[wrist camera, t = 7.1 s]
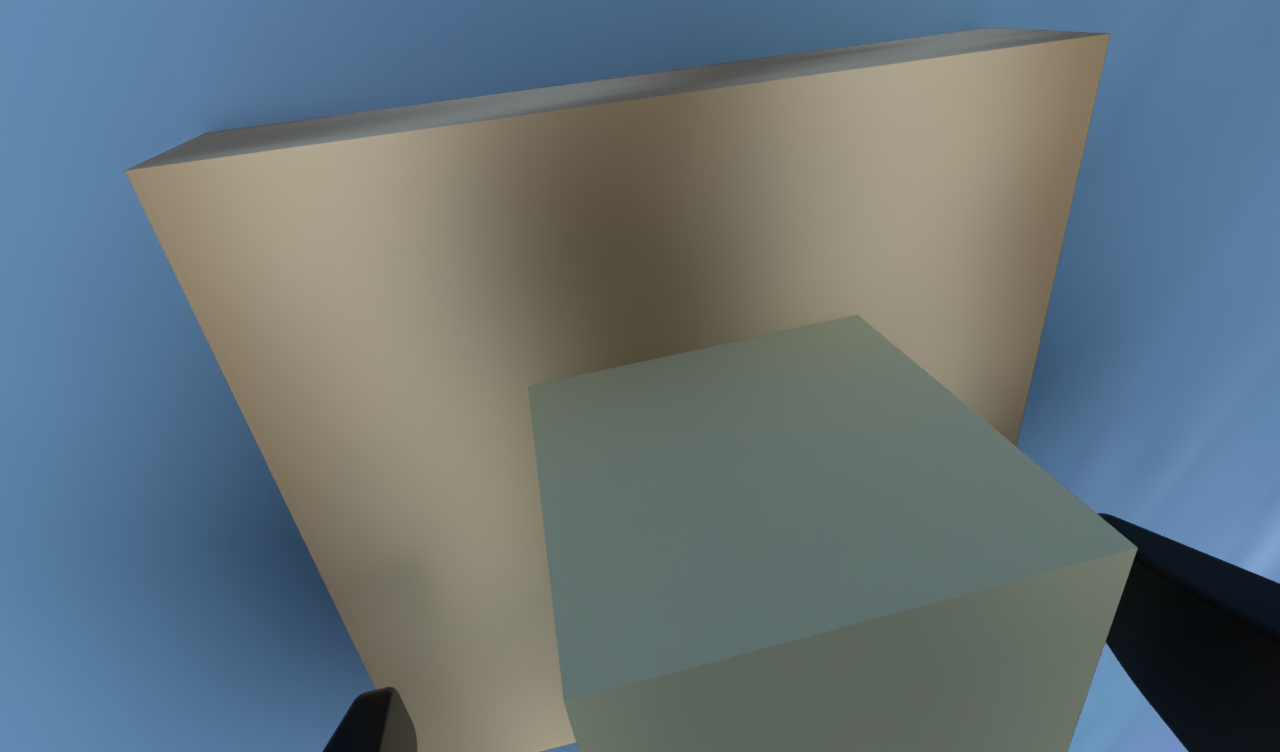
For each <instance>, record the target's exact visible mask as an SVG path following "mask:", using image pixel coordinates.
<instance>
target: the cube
mask: <svg viewBox="0 0 1280 752" xmlns="http://www.w3.org/2000/svg"><path fill="white" fill-rule="evenodd" d="M528 391H529V400H530V409H531V418H532V426H533V435H534V444H535V453H536V462H537V471H538V479H539V488H540V497H541V506H542V515H543V524H544V532H545V541H546V550H547V559H548V568H549V576H550V585H551V594H552V603H553V612H554V621H555V629H556V638H557V647H558V656H559V665H560V673H561V682H562V691H563V700H564V705H565V708H566V711H567V714H568V718H569V721H570V724H571V727H572V731H573V734H574V737H575V740H576V743H577V747H578V750H579V752H1068V749H1069V746H1070V743H1071V741H1072V738H1073V735H1074V732H1075V729H1076V726H1077V723H1078V720H1079V717H1080V714H1081V711H1082V709H1083V706H1084V703H1085V700H1086V697H1087V694H1088V691H1089V688H1090V685H1091V682H1092V680H1093V677H1094V674H1095V671H1096V668H1097V665H1098V662H1099V659H1100V656H1101V653H1102V651H1103V648H1104V645H1105V642H1106V639H1107V636H1108V633H1109V630H1110V627H1111V624H1112V622H1113V619H1114V616H1115V613H1116V610H1117V607H1118V604H1119V601H1120V598H1121V595H1122V592H1123V590H1124V587H1125V584H1126V581H1127V578H1128V575H1129V572H1130V569H1131V566H1132V563H1133V561H1134V558H1135V555H1136V552H1137V549H1138V547H1136V546H1135V545H1134V544H1133V543H1132V542H1130V541H1129V540H1128V539H1127V538H1125V537H1124V536H1123V535H1122V534H1121V533H1119V532H1118V531H1117V530H1116V529H1115V528H1113V527H1112V526H1111V525H1110V524H1109V523H1107V522H1106V521H1105V520H1104V519H1103V518H1101V517H1100V516H1099V515H1098V514H1097V513H1095V512H1094V511H1093V510H1092V509H1091V508H1089V507H1088V506H1087V505H1086V504H1085V503H1083V502H1082V501H1081V500H1080V499H1079V498H1077V497H1076V496H1075V495H1074V494H1073V493H1071V492H1070V491H1069V490H1068V489H1067V488H1065V487H1064V486H1063V485H1062V484H1061V483H1059V482H1058V481H1057V480H1056V479H1055V478H1053V477H1052V476H1051V475H1050V474H1049V473H1047V472H1046V471H1045V470H1044V469H1043V468H1041V467H1040V466H1039V465H1038V464H1037V463H1035V462H1034V461H1033V460H1032V459H1031V458H1029V457H1028V456H1027V455H1026V454H1025V453H1023V452H1022V451H1021V450H1020V449H1018V448H1017V447H1016V446H1015V445H1014V444H1012V443H1011V442H1010V441H1009V440H1008V439H1006V438H1005V437H1004V436H1003V435H1002V434H1000V433H999V432H998V431H997V430H996V429H994V428H993V427H992V426H991V425H990V424H988V423H987V422H986V421H985V420H984V419H982V418H981V417H980V416H979V415H978V414H976V413H975V412H974V411H973V410H972V409H970V408H969V407H968V406H967V405H966V404H964V403H963V402H962V401H961V400H960V399H958V398H957V397H956V396H955V395H954V394H952V393H951V392H950V391H949V390H948V389H946V388H945V387H944V386H943V385H942V384H940V383H939V382H938V381H937V380H936V379H934V378H933V377H932V376H931V375H930V374H928V373H927V372H926V371H925V370H924V369H922V368H921V367H920V366H919V365H918V364H916V363H915V362H914V361H913V360H911V359H910V358H909V357H908V356H907V355H905V354H904V353H903V352H902V351H901V350H899V349H898V348H897V347H896V346H895V345H893V344H892V343H891V342H890V341H889V340H887V339H886V338H885V337H884V336H883V335H881V334H880V333H879V332H878V331H877V330H875V329H874V328H873V327H872V326H871V325H869V324H868V323H867V322H866V321H865V320H863V319H862V318H861V317H860V316H859V315H856V316H851V317H846V318H842V319H837V320H832V321H828V322H823V323H818V324H814V325H809V326H805V327H800V328H795V329H791V330H786V331H781V332H777V333H772V334H767V335H763V336H758V337H753V338H749V339H744V340H740V341H735V342H730V343H726V344H721V345H716V346H712V347H707V348H702V349H698V350H693V351H688V352H684V353H679V354H675V355H670V356H665V357H661V358H656V359H651V360H647V361H642V362H637V363H633V364H628V365H623V366H619V367H614V368H610V369H605V370H600V371H596V372H591V373H586V374H582V375H577V376H572V377H568V378H563V379H558V380H554V381H549V382H545V383H540V384H535V385H531V386H528Z"/></svg>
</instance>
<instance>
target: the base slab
mask: <svg viewBox="0 0 1280 752" xmlns="http://www.w3.org/2000/svg"><path fill="white" fill-rule="evenodd" d="M1109 38H1110V34H1108V33H1088V32H1067V31H1046V30H1026V29H1005V28H982V29H975V30H967V31H960V32H953V33H945V34H938V35H930V36H923V37H915V38H908V39H901V40H893V41H886V42H878V43H871V44H863V45H856V46H848V47H841V48H834V49H826V50H819V51H811V52H804V53H796V54H789V55H782V56H774V57H767V58H759V59H752V60H744V61H737V62H730V63H722V64H715V65H707V66H700V67H692V68H685V69H678V70H670V71H663V72H655V73H648V74H640V75H633V76H626V77H618V78H611V79H603V80H596V81H588V82H581V83H574V84H566V85H559V86H551V87H544V88H536V89H529V90H522V91H514V92H507V93H499V94H492V95H484V96H477V97H469V98H462V99H455V100H447V101H440V102H432V103H425V104H417V105H410V106H403V107H395V108H388V109H380V110H373V111H365V112H358V113H351V114H343V115H336V116H328V117H321V118H313V119H306V120H299V121H291V122H284V123H276V124H269V125H261V126H254V127H247V128H239V129H232V130H224V131H217V132H209V133H205V134H203V135H200V136H198V137H196V138H194V139H192V140H190V141H188V142H185V143H183V144H181V145H179V146H177V147H175V148H173V149H170V150H168V151H166V152H164V153H162V154H160V155H158V156H156V157H153V158H151V159H149V160H147V161H145V162H143V163H141V164H138V165H136V166H134V167H132V168H130V169H128V170H126V171H125V172H126V174H127V176H128V178H129V180H130V182H131V184H132V186H133V188H134V190H135V192H136V194H137V197H138V199H139V201H140V203H141V205H142V207H143V209H144V211H145V213H146V215H147V217H148V219H149V221H150V223H151V225H152V228H153V230H154V232H155V234H156V236H157V238H158V240H159V242H160V244H161V246H162V248H163V250H164V252H165V254H166V256H167V259H168V261H169V263H170V265H171V267H172V269H173V271H174V273H175V275H176V277H177V279H178V281H179V283H180V285H181V287H182V290H183V292H184V294H185V296H186V298H187V300H188V302H189V304H190V306H191V308H192V310H193V312H194V314H195V316H196V319H197V321H198V323H199V325H200V327H201V329H202V331H203V333H204V335H205V337H206V339H207V341H208V343H209V345H210V347H211V350H212V352H213V354H214V356H215V358H216V360H217V362H218V364H219V366H220V368H221V370H222V372H223V374H224V376H225V378H226V381H227V383H228V385H229V387H230V389H231V391H232V393H233V395H234V397H235V399H236V401H237V403H238V405H239V407H240V409H241V412H242V414H243V416H244V418H245V420H246V422H247V424H248V426H249V428H250V430H251V432H252V434H253V436H254V438H255V440H256V443H257V445H258V447H259V449H260V451H261V453H262V455H263V457H264V459H265V461H266V463H267V465H268V467H269V469H270V471H271V474H272V476H273V478H274V480H275V482H276V484H277V486H278V488H279V490H280V492H281V494H282V496H283V498H284V500H285V502H286V505H287V507H288V509H289V511H290V513H291V515H292V517H293V519H294V521H295V523H296V525H297V527H298V529H299V531H300V534H301V536H302V538H303V540H304V542H305V544H306V546H307V548H308V550H309V552H310V554H311V556H312V558H313V560H314V562H315V565H316V567H317V569H318V571H319V573H320V575H321V577H322V579H323V581H324V583H325V585H326V587H327V589H328V591H329V593H330V596H331V598H332V600H333V602H334V604H335V606H336V608H337V610H338V612H339V614H340V616H341V618H342V620H343V622H344V624H345V627H346V629H347V631H348V633H349V635H350V637H351V639H352V641H353V643H354V645H355V647H356V649H357V651H358V653H359V655H360V658H361V660H362V662H363V664H364V666H365V668H366V670H367V672H368V674H369V676H370V678H371V680H372V682H373V684H374V686H375V689H376V690H377V689H381V688H385V687H394V688H395V689H397V691H398V692H399V694H400V696H401V698H402V701H403V703H404V705H405V707H406V709H407V711H408V713H409V715H410V718H411V720H412V722H413V724H414V727H415V730H416V736H417V752H541V751H545V750H549V749H552V748H556V747H560V746H564V745H568V744H572V743H576V740H575V737H574V734H573V731H572V727H571V724H570V721H569V718H568V714H567V711H566V708H565V705H564V700H563V691H562V682H561V673H560V665H559V656H558V647H557V638H556V629H555V621H554V612H553V603H552V594H551V585H550V576H549V568H548V559H547V550H546V541H545V532H544V524H543V515H542V506H541V497H540V488H539V479H538V471H537V462H536V453H535V444H534V435H533V426H532V418H531V409H530V400H529V391H528V386H531V385H535V384H540V383H545V382H549V381H554V380H558V379H563V378H568V377H572V376H577V375H582V374H586V373H591V372H596V371H600V370H605V369H610V368H614V367H619V366H623V365H628V364H633V363H637V362H642V361H647V360H651V359H656V358H661V357H665V356H670V355H675V354H679V353H684V352H688V351H693V350H698V349H702V348H707V347H712V346H716V345H721V344H726V343H730V342H735V341H740V340H744V339H749V338H753V337H758V336H763V335H767V334H772V333H777V332H781V331H786V330H791V329H795V328H800V327H805V326H809V325H814V324H818V323H823V322H828V321H832V320H837V319H842V318H846V317H851V316H856V315H859V316H860V317H861V318H862V319H863V320H865V321H866V322H867V323H868V324H869V325H871V326H872V327H873V328H874V329H875V330H877V331H878V332H879V333H880V334H881V335H883V336H884V337H885V338H886V339H887V340H889V341H890V342H891V343H892V344H893V345H895V346H896V347H897V348H898V349H899V350H901V351H902V352H903V353H904V354H905V355H907V356H908V357H909V358H910V359H911V360H913V361H914V362H915V363H916V364H918V365H919V366H920V367H921V368H922V369H924V370H925V371H926V372H927V373H928V374H930V375H931V376H932V377H933V378H934V379H936V380H937V381H938V382H939V383H940V384H942V385H943V386H944V387H945V388H946V389H948V390H949V391H950V392H951V393H952V394H954V395H955V396H956V397H957V398H958V399H960V400H961V401H962V402H963V403H964V404H966V405H967V406H968V407H969V408H970V409H972V410H973V411H974V412H975V413H976V414H978V415H979V416H980V417H981V418H982V419H984V420H985V421H986V422H987V423H988V424H990V425H991V426H992V427H993V428H994V429H996V430H997V431H998V432H999V433H1000V434H1002V435H1003V436H1004V437H1005V438H1006V439H1008V440H1009V441H1010V442H1011V443H1012V444H1014V445H1015V446H1016V445H1017V441H1018V436H1019V432H1020V428H1021V423H1022V419H1023V415H1024V410H1025V406H1026V401H1027V397H1028V393H1029V388H1030V384H1031V379H1032V375H1033V371H1034V366H1035V362H1036V358H1037V353H1038V349H1039V344H1040V340H1041V336H1042V331H1043V327H1044V323H1045V318H1046V314H1047V309H1048V305H1049V301H1050V296H1051V292H1052V288H1053V283H1054V279H1055V274H1056V270H1057V266H1058V261H1059V257H1060V253H1061V248H1062V244H1063V239H1064V235H1065V231H1066V226H1067V222H1068V218H1069V213H1070V209H1071V204H1072V200H1073V196H1074V191H1075V187H1076V183H1077V178H1078V174H1079V169H1080V165H1081V161H1082V156H1083V152H1084V148H1085V143H1086V139H1087V134H1088V130H1089V126H1090V121H1091V117H1092V113H1093V108H1094V104H1095V99H1096V95H1097V91H1098V86H1099V82H1100V78H1101V73H1102V69H1103V64H1104V60H1105V56H1106V51H1107V47H1108V43H1109Z"/></svg>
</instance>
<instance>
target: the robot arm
mask: <svg viewBox="0 0 1280 752" xmlns="http://www.w3.org/2000/svg"><path fill="white" fill-rule="evenodd" d="M1098 515H1099V516H1100V517H1101V518H1103V519H1104V520H1105V521H1106V522H1107V523H1109V524H1110V525H1111V526H1112V527H1113V528H1115V529H1116V530H1117V531H1118V532H1119V533H1121V534H1122V535H1123V536H1124V537H1125V538H1127V539H1128V540H1129V541H1130V542H1132V543H1133V544H1134V545H1135V546H1136V547H1138V549H1137V552H1136V555H1135V558H1134V561H1133V563H1132V566H1131V569H1130V572H1129V575H1128V578H1127V581H1126V584H1125V587H1124V590H1123V592H1122V595H1121V598H1120V601H1119V604H1118V607H1117V610H1116V613H1115V616H1114V619H1113V622H1112V624H1111V627H1110V630H1109V633H1108V636H1107V639H1106V643H1107V645H1108V646H1109V648H1110V649H1111V651H1112V652H1113V654H1114V655H1115V657H1116V658H1117V660H1118V661H1119V663H1120V664H1121V666H1122V667H1123V669H1124V670H1125V671H1126V673H1127V674H1128V676H1129V677H1130V678H1131V680H1132V681H1133V683H1134V684H1135V685H1136V687H1137V688H1138V689H1139V690H1140V692H1141V693H1142V694H1143V696H1144V697H1145V698H1146V700H1147V701H1148V702H1149V703H1150V705H1151V706H1152V707H1153V708H1154V710H1155V711H1156V712H1157V713H1158V714H1159V716H1160V717H1161V718H1162V719H1163V721H1164V722H1165V723H1166V724H1167V726H1168V727H1169V728H1170V729H1171V731H1172V732H1173V733H1174V734H1175V736H1176V737H1177V738H1178V739H1179V741H1180V742H1181V743H1182V744H1183V746H1184V747H1185V748H1186V749H1187V750H1188V752H1280V584H1279V583H1277V582H1275V581H1272V580H1270V579H1267V578H1265V577H1262V576H1260V575H1257V574H1255V573H1252V572H1250V571H1247V570H1245V569H1243V568H1240V567H1238V566H1235V565H1233V564H1230V563H1228V562H1225V561H1223V560H1220V559H1218V558H1215V557H1213V556H1211V555H1208V554H1206V553H1203V552H1201V551H1198V550H1196V549H1193V548H1191V547H1188V546H1186V545H1183V544H1181V543H1179V542H1176V541H1174V540H1171V539H1169V538H1166V537H1164V536H1161V535H1159V534H1156V533H1154V532H1152V531H1149V530H1147V529H1144V528H1142V527H1139V526H1137V525H1134V524H1132V523H1129V522H1127V521H1124V520H1122V519H1120V518H1117V517H1115V516H1112V515H1109V514H1105V513H1098ZM323 752H417V736H416V730H415V727H414V724H413V722H412V720H411V718H410V715H409V713H408V711H407V709H406V707H405V705H404V703H403V701H402V698H401V696H400V694H399V692H398V691H397V689H395V688H394V687H385V688H381V689H377V690H373V691H369V692H365V693H362V694H361V695H359V696H358V697H357V698H356V699H355V700H354V702H353V703H352V705H351V707H350V708H349V710H348V711H347V713H346V715H345V716H344V718H343V719H342V721H341V723H340V724H339V726H338V728H337V729H336V731H335V732H334V734H333V736H332V737H331V739H330V740H329V742H328V744H327V745H326V747H325V749H324V750H323Z"/></svg>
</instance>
